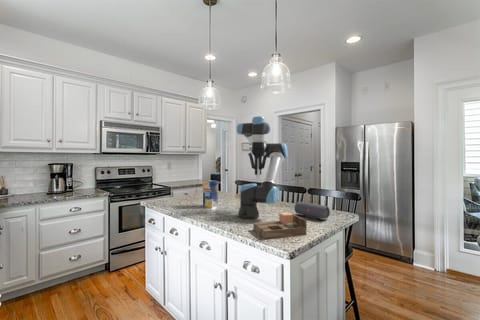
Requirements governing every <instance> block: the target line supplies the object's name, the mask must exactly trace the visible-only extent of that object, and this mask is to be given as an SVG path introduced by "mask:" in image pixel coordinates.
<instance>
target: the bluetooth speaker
mask: <svg viewBox="0 0 480 320" xmlns="http://www.w3.org/2000/svg"><path fill="white" fill-rule="evenodd" d="M294 212H295V213H296V214H299V215H303V216H304V217H306V218H310V219H315V220H319V219H324V220H326V219H328V218H329V217H330V207H329V206H326V205H323V204H319V203H313V202H305V201H304V202H303V201H296V203H295V205H294Z"/></svg>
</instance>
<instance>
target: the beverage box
mask: <svg viewBox="0 0 480 320" xmlns="http://www.w3.org/2000/svg"><path fill="white" fill-rule="evenodd" d="M218 184H219V182H218V180H212V179H211V180H210V179H205V180H203V181H202V207H204V208H208V209H214V208H218V207H219V206H218V203H219V201H218V196H219V195H218V190H219V188H218V186H219V185H218Z"/></svg>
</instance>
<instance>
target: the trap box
mask: <svg viewBox="0 0 480 320" xmlns="http://www.w3.org/2000/svg"><path fill="white" fill-rule="evenodd" d="M290 213H291V214H293V223H289V224H283V223H281V222H280V221H279V220H271V221H270V220H269V221H260V222H253V224H252V225H253V226H252V227H253V231H254V232H255V233H257V235H259V236H260V237H261V238H263V239H264V240H269V239H278V238H288V237H296V236H304V235H307V219H305V218H304V217H303V218H302V217H300V216H298V215H296V214H294V213H292V212H290Z"/></svg>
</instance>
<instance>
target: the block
mask: <svg viewBox="0 0 480 320" xmlns="http://www.w3.org/2000/svg"><path fill="white" fill-rule="evenodd" d="M291 213H292V212H287V211H286V212H285V211H284V212H278V215H279V216H278V221H280V222H281V223H283V224H289V223H293V214H294V213H292V214H291Z"/></svg>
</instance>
